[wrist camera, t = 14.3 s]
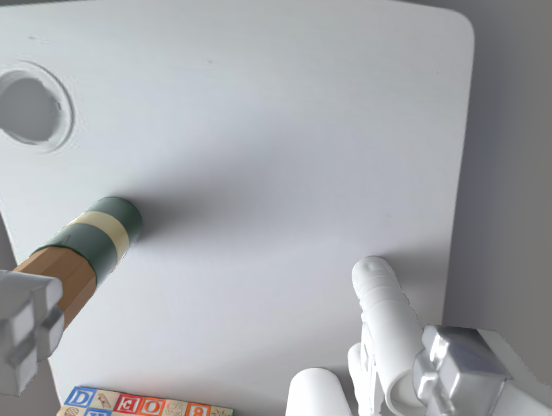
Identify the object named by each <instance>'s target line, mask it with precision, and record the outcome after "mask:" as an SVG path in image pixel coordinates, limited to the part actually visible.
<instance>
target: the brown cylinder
mask: <svg viewBox="0 0 552 416" xmlns="http://www.w3.org/2000/svg"><path fill="white" fill-rule="evenodd" d="M11 272H20V273H27V274H34V275H41V276H48V277H55V278H58V279H59V280H60V281H61V282H62V290H63V296H62V298H61V299H60V300H59V301H58V302H57V305H58V306H59V307H60V308H61V310H62V311H63V312H64V322H65V323H64V330H65V329H66V328H67V327H68V325H69V324H70V323H71V322H72V320H73V319H74V318H75V317H76V315H77V314H78V313H79V312H80V310H81V309H82V308H83V307H84V305H85V304H86V303H87V302H88V300H89V299H90V297H91V296H92V295H93V293H94V292H95V290H96V274H95V272H94V271H93V269H92V267H91V266H90V264H89V263H88V261H87V260H86V259H85V258H84V257H82V256H81V255H79V254H77V253H76V252H74V251H72V250H71V249H68V248H60V247H52V246H51V247H48V248H45V249H43V250H40V251H38V252H35V253H34V254H33V255H32V256H30V257H29V258H28V259H27V260H25V261H24V262H23V263H22V264H20V265H19V266H18V267H17V268H15V269H14V270H13V271H11ZM64 330H63V332H64Z"/></svg>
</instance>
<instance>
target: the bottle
mask: <svg viewBox="0 0 552 416" xmlns="http://www.w3.org/2000/svg"><path fill="white" fill-rule="evenodd" d="M142 228H143V223H142V218H141V215H140V213H139V212H138V210H137V209H136V208H135V207H134V206H133V205H132V204H131V203H130V202H128V201H126V200H124V199H121V198H117V197H107V198H103V199H101V200H99V201H97V202H96V203H95V204H94V205H92V206H91V207H90V208H88V209H87V210H86V211H85V212H83V213H82V214H81V215H79V216H77V217H76V218H75V219H73V220H72V221H71V222H70V223H68V224H67V225H66V226H64V227H63V228H62V229H61V230H60V231H59V232H58V233H56V234H55V235H54V236H53V237H51V238H50V239H49V240H47V241H46V242H45V243H44V244H42V245H41V246H40V247H38V248H37V249H36V250H35V251H34V252H32V253H31V255H30V256H32V255H33V254H34V253H35V252H38V251H40V250H43V249H45V248H48V247H51V246H52V247H60V248H68V249H71V250H72V251H74V252H76V253H77V254H79V255H81V256H82V257H84V258H85V259H86V260H87V261H88V263H89V264H90V266H91V267H92V269H93V271H94V272H95V274H96V290H95V292H96V291H97V289H98V288H99V287H100V286H101V284H102V283H103V282H104V281H105V279H106V278H107V277H108V276H109V274H110V273H111V272H112V271H113V270H114V269H115V268H116V266H117V265H118V264H119V263H120V261H121V260H122V259H123V258H124V256H125V255H126V253H127V252H128V250H129V249H130V248H131V247H132V245H133V244H134V243H135V242H136V240H137V239H138V238H139V236H140V235H141V232H142ZM30 256H29V257H30ZM95 292H94V293H95ZM94 293H93V294H94ZM92 296H93V295H92ZM92 296H91V297H92ZM91 297H90V298H91Z"/></svg>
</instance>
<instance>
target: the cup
mask: <svg viewBox="0 0 552 416" xmlns="http://www.w3.org/2000/svg"><path fill="white" fill-rule="evenodd" d="M286 416H352V413H351V411H350V408H349V405H348V403H347V400H346V397H345V395H344V392H343V389H342V387H341V384H340V381H339V379H338V378H337V376H336V375H335V374H333V373H332V372H330V371H329V370H326V369H323V368H309V369H306V370H303V371H301V372H299V373H298V374H297V375H296V376H295V377H294V378H293V379H292V381H291V384H290V390H289V396H288V403H287V409H286Z"/></svg>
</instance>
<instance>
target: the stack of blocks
mask: <svg viewBox="0 0 552 416" xmlns="http://www.w3.org/2000/svg"><path fill="white" fill-rule="evenodd" d="M232 413H233V409H229V408H222V407H215V406H210V405H205V404H198V403H189V402H184V401H178V400H171V399H166V400H165V399H158V398H151V397H142V396H136V395H129V394H121V393H118V392H111V391H104V390H97V389H91V388H84V387H77V386H75V387H74V389H73V390H72V392H71V393H70V395H69V396H68V398H67V400H66V401H65V403H64V405H63V406H62V407H61V409H60V410H59V412H58V414H57V415H56V416H232Z"/></svg>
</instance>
